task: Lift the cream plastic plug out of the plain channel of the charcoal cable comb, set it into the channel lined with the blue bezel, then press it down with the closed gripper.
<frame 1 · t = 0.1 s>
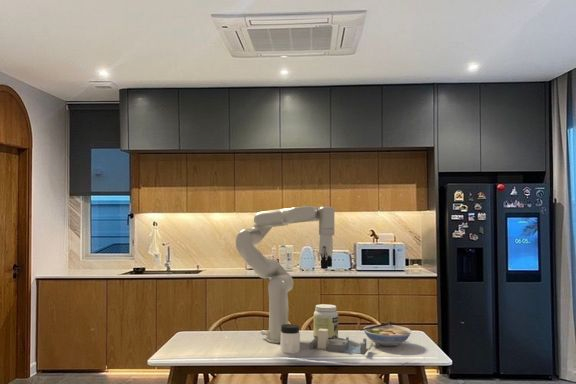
hand: (326, 267, 241), 37 cm above the table, tool pointing down, fingers open, 9 cm apart
plug: (322, 347, 231), point 1 cm above the table, touching duct comb
ramen bowl: (387, 345, 240), on the table
duct comb: (338, 351, 228), on the table
jar: (289, 353, 224), on the table
supplement tub: (325, 340, 248), on the table
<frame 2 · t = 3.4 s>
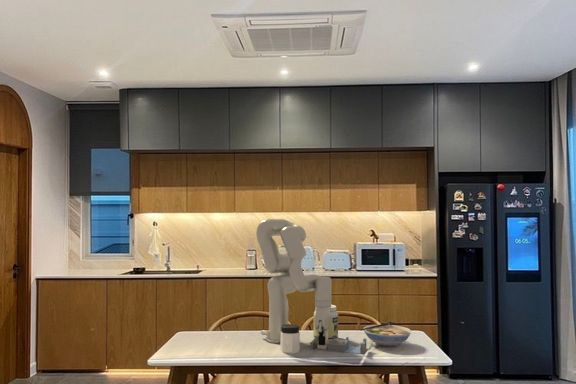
hand: (322, 343, 231), 3 cm above the table, tool pointing down, fingers closed on plug, 3 cm apart
plug: (322, 347, 231), point 1 cm above the table, touching duct comb, gripper
everything else where it was.
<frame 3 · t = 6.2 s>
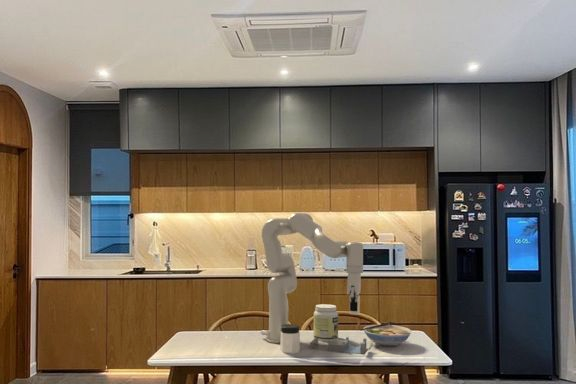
hand: (354, 309, 227), 19 cm above the table, tool pointing down, fingers closed on plug, 4 cm apart
plug: (354, 313, 227), point 17 cm above the table, touching gripper
everything else where it was.
when the fingers open (4 cm above the table, at t = 9.2 s): plug drops 1 cm, resting on duct comb.
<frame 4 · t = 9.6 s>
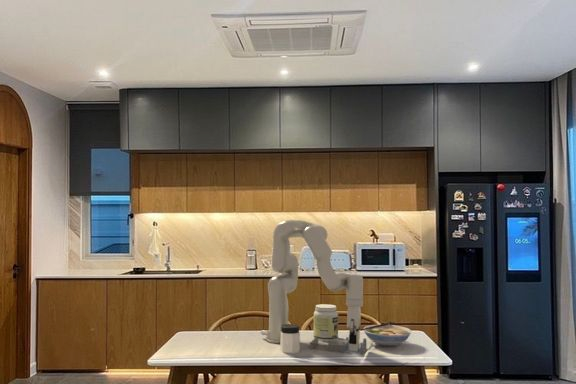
hand: (354, 341, 226), 5 cm above the table, tool pointing down, fingers open, 8 cm apart
plug: (354, 349, 226), point 1 cm above the table, touching duct comb
everything else where it was.
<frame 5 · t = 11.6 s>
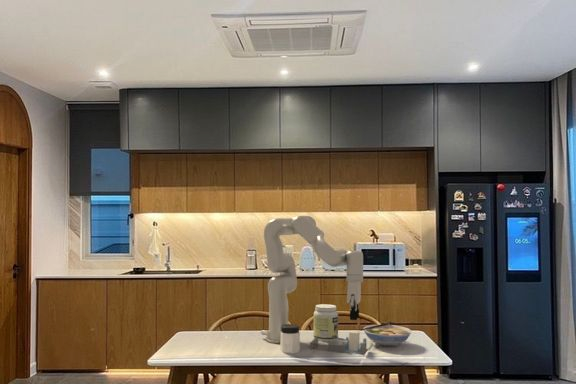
hand: (354, 318, 227), 15 cm above the table, tool pointing down, fingers open, 4 cm apart
nothing on the table moved.
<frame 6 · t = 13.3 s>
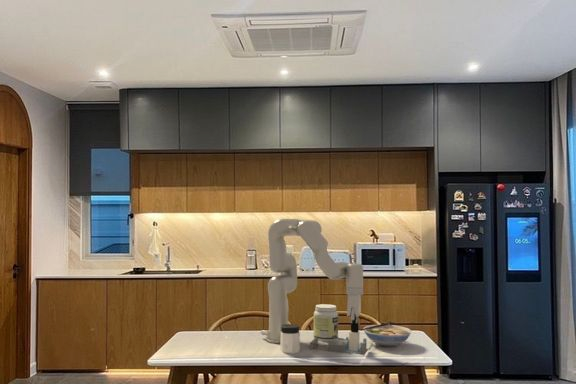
hand: (354, 331, 227), 9 cm above the table, tool pointing down, fingers closed
plug: (354, 349, 226), point 1 cm above the table, touching duct comb, gripper
everything else where it was.
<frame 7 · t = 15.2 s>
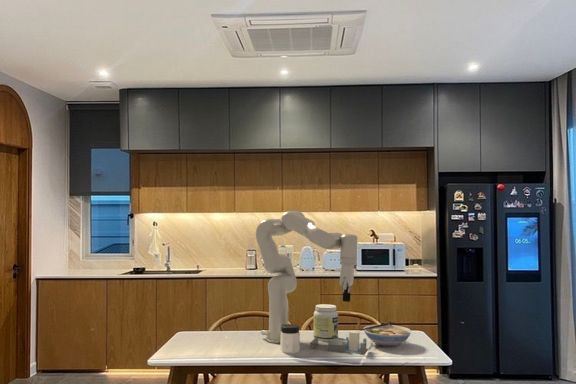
hand: (346, 301, 230), 23 cm above the table, tool pointing down, fingers closed
plug: (354, 349, 226), point 1 cm above the table, touching duct comb
everything else where it was.
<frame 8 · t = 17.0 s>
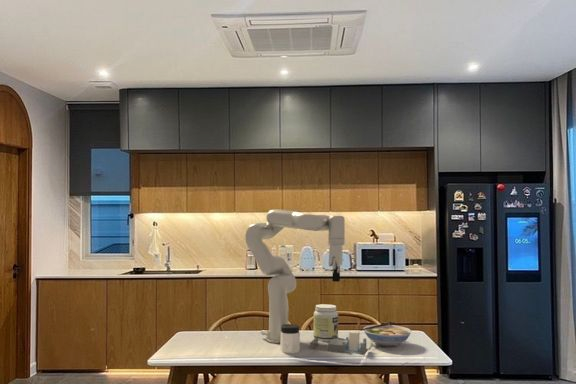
hand: (336, 281, 234), 31 cm above the table, tool pointing down, fingers closed
nothing on the table moved.
at the end: plug 0.1 cm from the target spot on the duct comb, point 1.2 cm above the duct comb's base; plug tilted 0°; the gripper is holding nothing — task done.
